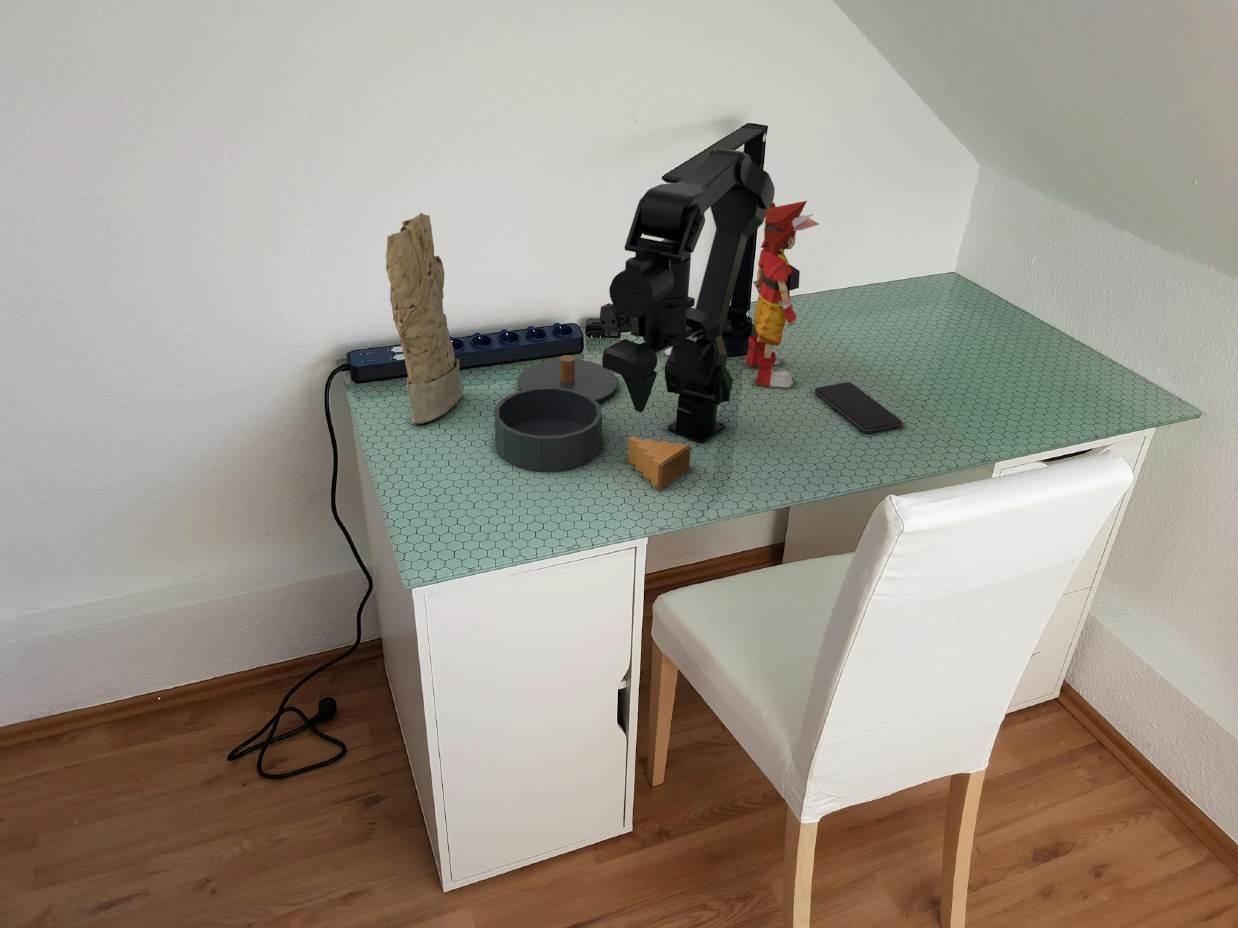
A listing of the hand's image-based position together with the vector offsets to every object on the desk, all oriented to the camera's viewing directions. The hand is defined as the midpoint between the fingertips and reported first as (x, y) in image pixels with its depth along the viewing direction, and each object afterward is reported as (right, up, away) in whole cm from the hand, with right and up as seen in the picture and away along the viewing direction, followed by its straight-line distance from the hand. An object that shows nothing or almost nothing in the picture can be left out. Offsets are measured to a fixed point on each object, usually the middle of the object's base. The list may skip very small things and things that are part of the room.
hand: (659, 399), depth 133 cm
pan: (-16, -6, +12) cm, 21 cm away
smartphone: (+32, 0, +24) cm, 40 cm away
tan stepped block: (-1, -10, +6) cm, 12 cm away
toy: (+20, +6, +34) cm, 40 cm away
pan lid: (-14, +4, +27) cm, 31 cm away
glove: (-35, +1, +21) cm, 41 cm away
